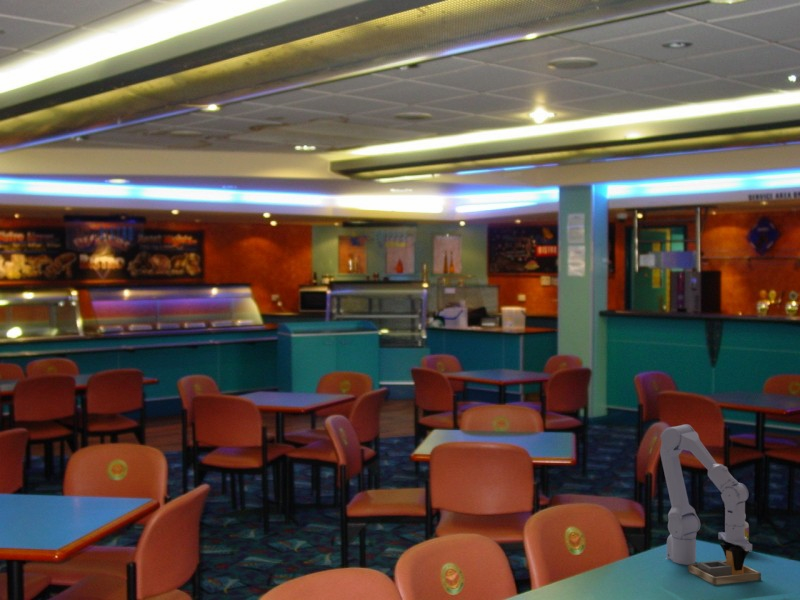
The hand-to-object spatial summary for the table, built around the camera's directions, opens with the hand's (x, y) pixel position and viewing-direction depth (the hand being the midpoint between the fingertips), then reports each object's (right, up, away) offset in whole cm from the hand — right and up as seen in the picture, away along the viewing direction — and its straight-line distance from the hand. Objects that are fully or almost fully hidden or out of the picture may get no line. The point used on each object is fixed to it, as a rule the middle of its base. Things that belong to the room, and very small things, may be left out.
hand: (734, 568), depth 306 cm
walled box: (-4, -3, -1) cm, 5 cm away
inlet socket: (-7, -2, -2) cm, 7 cm away
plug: (0, -2, 0) cm, 2 cm away
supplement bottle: (+10, -2, +26) cm, 28 cm away
